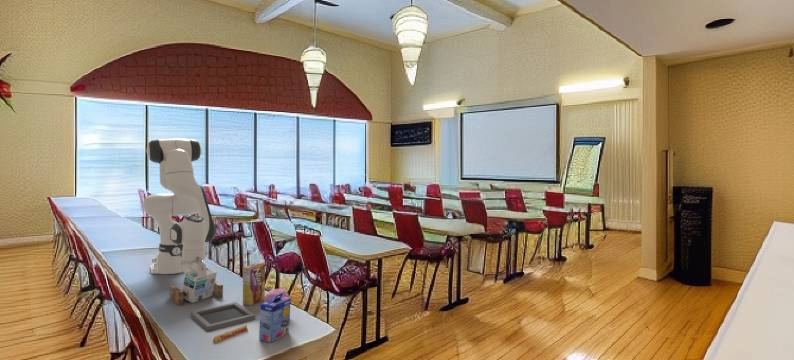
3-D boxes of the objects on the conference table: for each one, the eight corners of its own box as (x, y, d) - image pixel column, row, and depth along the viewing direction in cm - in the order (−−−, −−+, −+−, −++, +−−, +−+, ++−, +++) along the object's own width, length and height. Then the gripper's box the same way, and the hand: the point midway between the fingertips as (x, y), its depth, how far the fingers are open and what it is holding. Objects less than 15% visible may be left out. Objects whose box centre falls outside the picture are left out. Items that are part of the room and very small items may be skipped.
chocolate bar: (211, 342, 132) (212, 335, 132) (243, 330, 142) (243, 323, 142) (216, 344, 130) (216, 337, 130) (248, 332, 140) (248, 325, 140)
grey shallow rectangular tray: (190, 316, 151) (190, 312, 151) (236, 305, 163) (236, 302, 163) (207, 331, 139) (207, 326, 139) (255, 318, 151) (255, 314, 151)
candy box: (256, 297, 173) (257, 261, 173) (265, 299, 172) (265, 263, 171) (241, 304, 165) (242, 266, 164) (250, 305, 164) (251, 268, 163)
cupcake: (292, 312, 158) (293, 287, 157) (280, 321, 150) (281, 294, 149) (272, 309, 160) (272, 284, 160) (259, 317, 152) (259, 291, 151)
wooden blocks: (169, 297, 169) (169, 285, 169) (212, 289, 181) (212, 278, 181) (178, 305, 161) (179, 293, 160) (222, 296, 173) (223, 285, 172)
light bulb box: (192, 303, 163) (196, 278, 162) (180, 297, 166) (184, 272, 164) (213, 295, 173) (217, 271, 172) (201, 290, 176) (205, 266, 174)
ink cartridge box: (272, 343, 132) (273, 299, 131) (258, 340, 134) (259, 296, 133) (290, 332, 141) (291, 290, 140) (277, 329, 143) (278, 288, 142)
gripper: (211, 259, 167) (210, 292, 168) (193, 249, 182) (193, 280, 182) (194, 261, 163) (194, 295, 163) (178, 251, 177) (177, 282, 178)
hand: (193, 287), depth 173 cm, fingers closed
